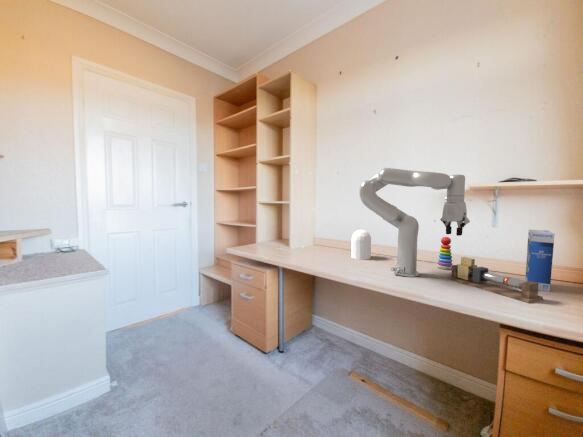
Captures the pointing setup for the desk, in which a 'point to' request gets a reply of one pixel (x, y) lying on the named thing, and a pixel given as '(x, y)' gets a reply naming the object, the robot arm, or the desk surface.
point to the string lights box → (540, 258)
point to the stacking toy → (445, 254)
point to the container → (361, 245)
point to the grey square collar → (478, 274)
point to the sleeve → (465, 268)
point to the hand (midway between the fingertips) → (453, 234)
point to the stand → (502, 288)
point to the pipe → (499, 279)
